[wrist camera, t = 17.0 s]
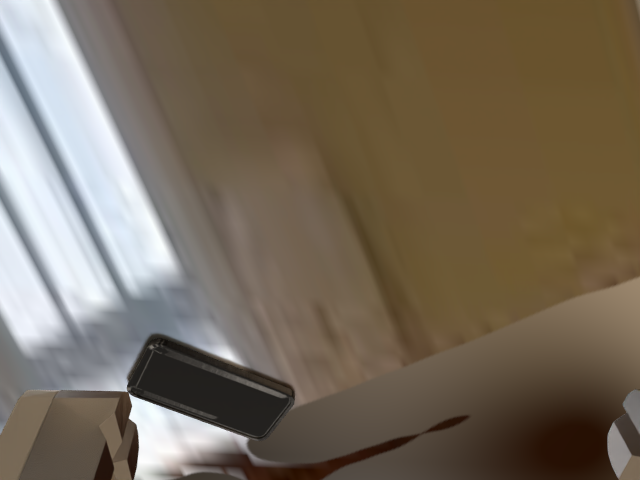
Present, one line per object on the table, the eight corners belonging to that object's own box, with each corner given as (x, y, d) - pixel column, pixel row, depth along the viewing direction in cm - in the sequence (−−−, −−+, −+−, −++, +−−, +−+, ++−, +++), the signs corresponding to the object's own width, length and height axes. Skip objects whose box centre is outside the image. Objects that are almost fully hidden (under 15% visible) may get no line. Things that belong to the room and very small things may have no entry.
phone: (151, 340, 52) (298, 398, 56) (154, 332, 53) (299, 389, 57) (123, 393, 56) (262, 444, 59) (126, 384, 57) (263, 435, 60)
